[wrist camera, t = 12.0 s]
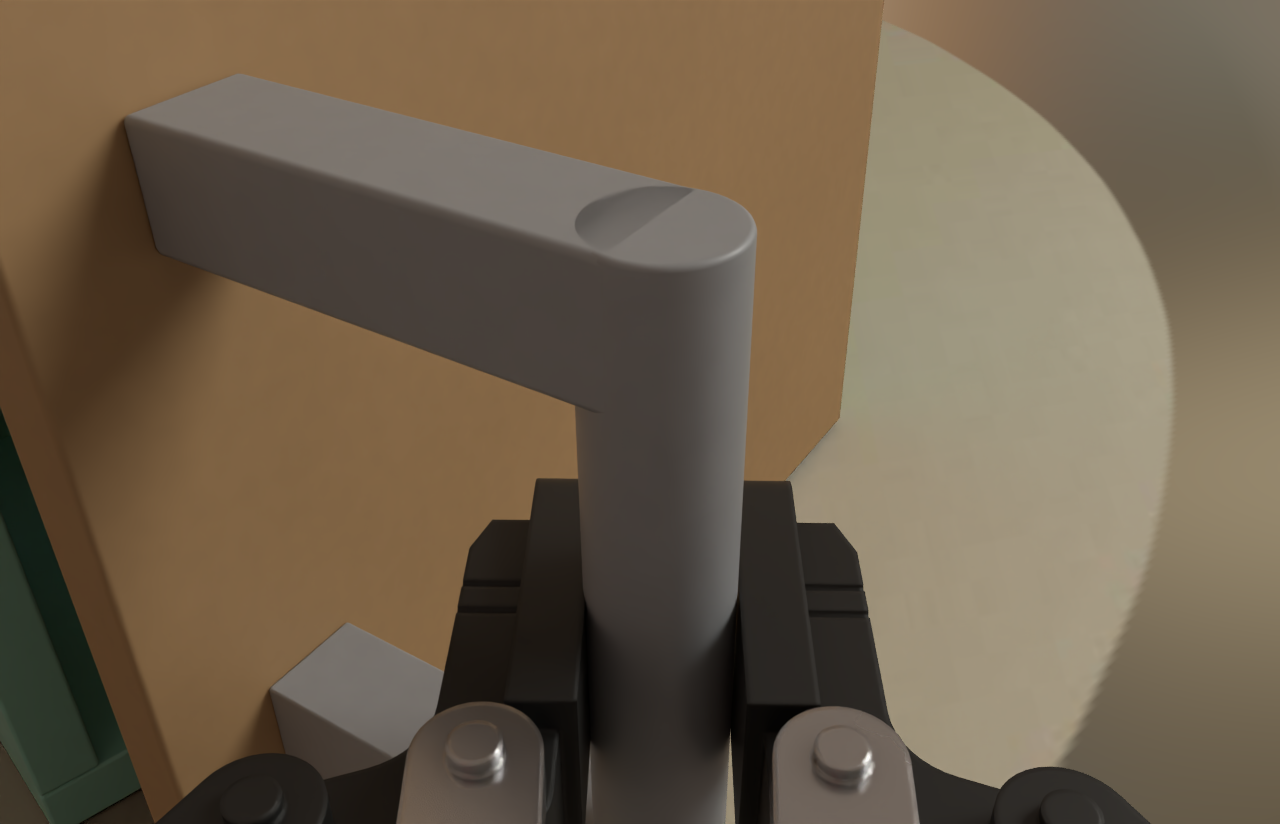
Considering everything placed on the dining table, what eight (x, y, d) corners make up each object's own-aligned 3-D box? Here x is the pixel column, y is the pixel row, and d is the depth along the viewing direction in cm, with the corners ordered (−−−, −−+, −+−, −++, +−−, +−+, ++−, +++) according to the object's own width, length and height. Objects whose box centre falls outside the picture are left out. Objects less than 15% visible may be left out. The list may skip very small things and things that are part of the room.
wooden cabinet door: (1071, 495, 33) (1332, -547, 20) (613, 1330, 17) (507, -917, 5) (809, 408, 36) (893, -527, 24) (232, 1039, 21) (-416, -702, 8)
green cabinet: (805, 407, 37) (887, -536, 24) (57, 838, 24) (-602, -638, 11) (521, 250, 45) (469, -505, 32) (-139, 509, 33) (-641, -544, 20)
